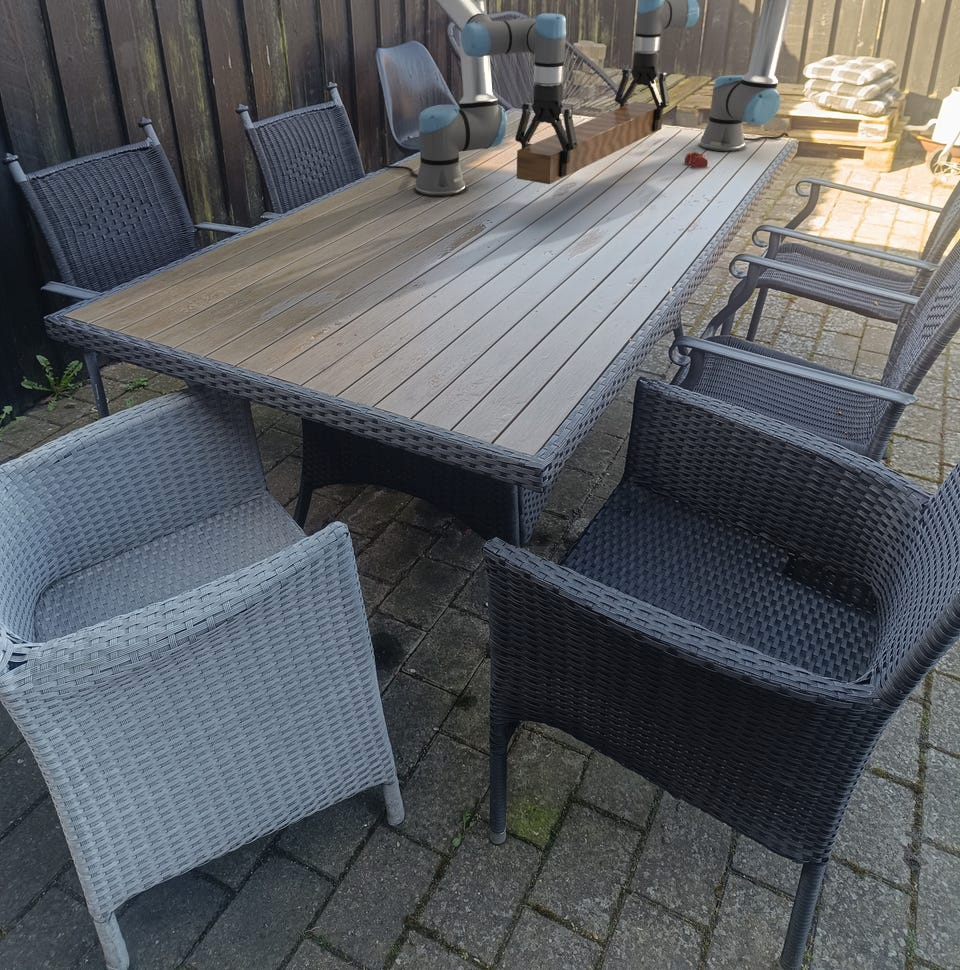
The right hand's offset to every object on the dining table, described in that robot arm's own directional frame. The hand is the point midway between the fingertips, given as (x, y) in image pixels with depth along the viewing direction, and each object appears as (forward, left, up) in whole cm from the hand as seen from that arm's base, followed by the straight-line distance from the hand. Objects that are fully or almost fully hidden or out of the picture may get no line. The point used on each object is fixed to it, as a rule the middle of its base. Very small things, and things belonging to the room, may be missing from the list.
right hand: (639, 128), depth 270 cm
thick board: (+28, +13, -1) cm, 31 cm away
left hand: (+57, +25, 0) cm, 62 cm away
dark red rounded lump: (-19, +9, -12) cm, 24 cm away
